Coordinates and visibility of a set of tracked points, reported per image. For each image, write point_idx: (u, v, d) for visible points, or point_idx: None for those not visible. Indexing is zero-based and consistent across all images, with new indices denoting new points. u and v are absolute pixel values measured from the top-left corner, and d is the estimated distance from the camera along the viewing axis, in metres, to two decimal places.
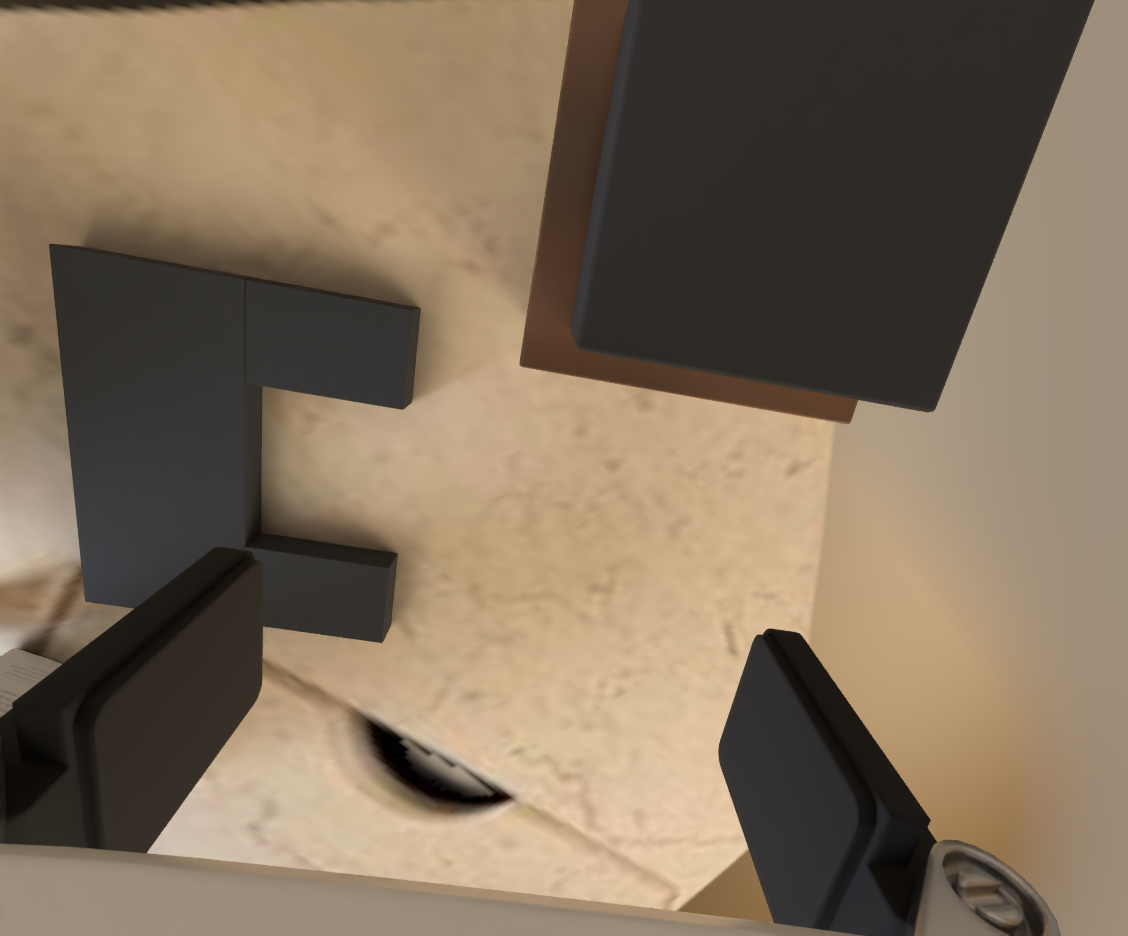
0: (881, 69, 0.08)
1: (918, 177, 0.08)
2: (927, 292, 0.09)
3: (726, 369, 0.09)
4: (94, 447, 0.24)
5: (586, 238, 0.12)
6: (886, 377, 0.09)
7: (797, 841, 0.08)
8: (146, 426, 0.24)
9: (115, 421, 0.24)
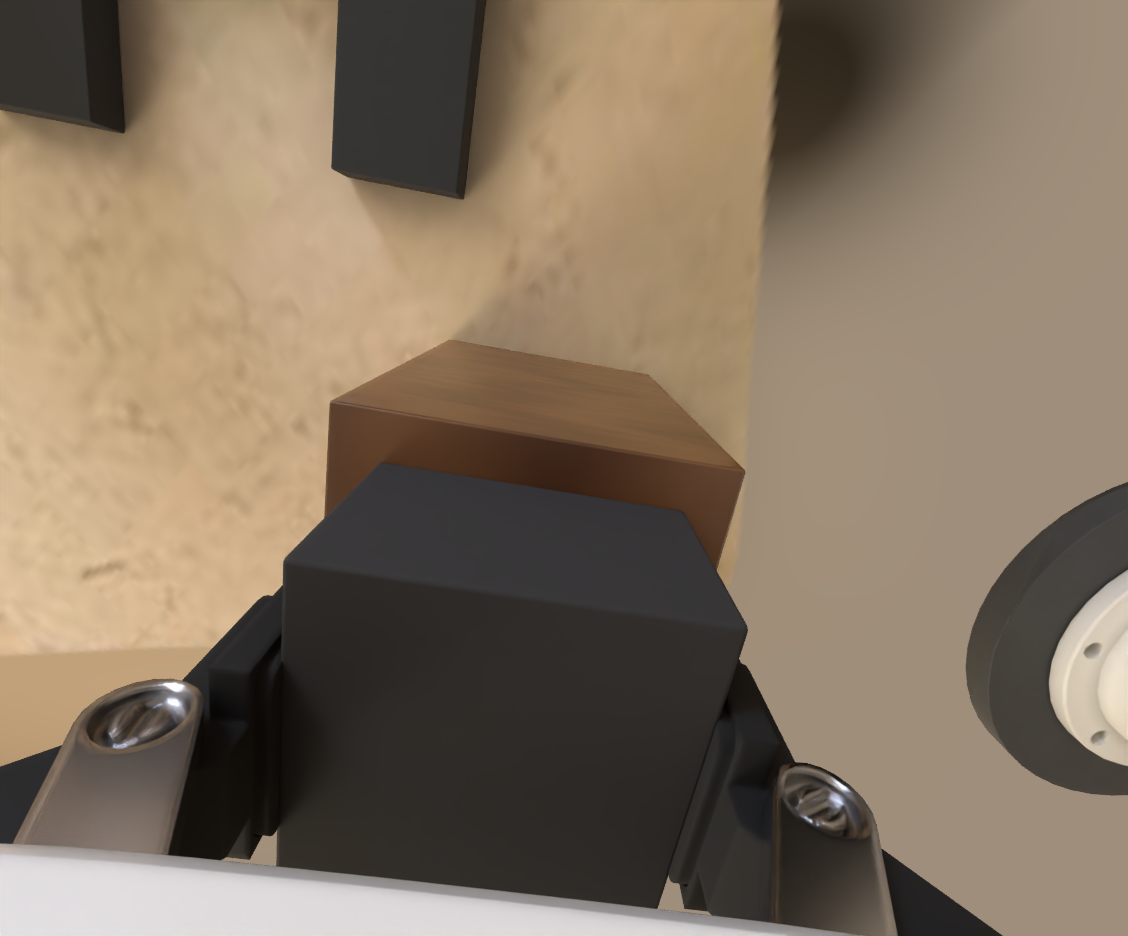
0: (583, 810, 0.08)
1: (495, 851, 0.08)
2: (392, 874, 0.09)
3: (284, 718, 0.08)
4: None
5: (475, 484, 0.10)
6: (303, 856, 0.08)
7: None
8: None
9: None
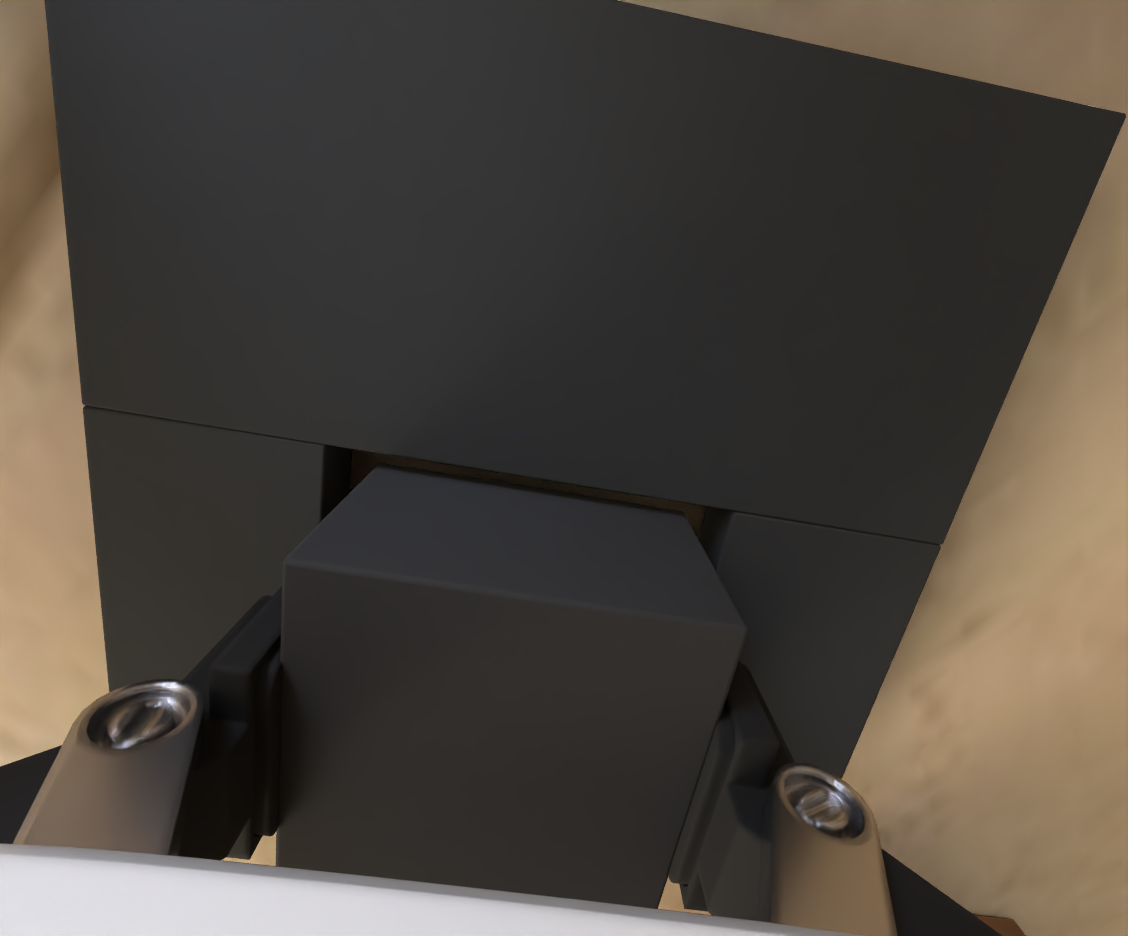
0: (582, 812, 0.08)
1: (494, 851, 0.08)
2: (391, 875, 0.08)
3: (283, 718, 0.08)
4: (595, 83, 0.08)
5: (475, 484, 0.10)
6: (302, 857, 0.08)
7: None
8: (648, 256, 0.09)
9: (667, 172, 0.09)
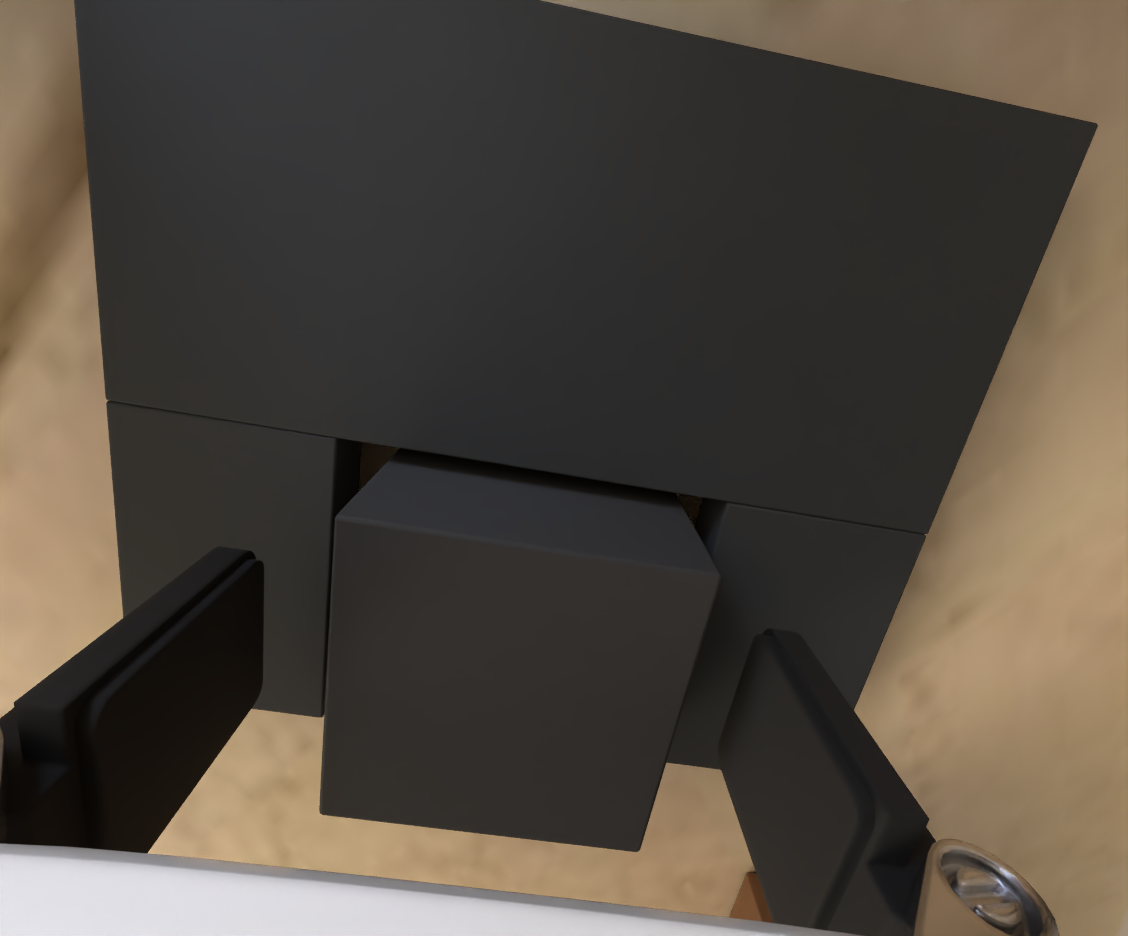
0: (583, 736, 0.10)
1: (508, 771, 0.10)
2: (420, 793, 0.10)
3: (332, 653, 0.09)
4: (594, 94, 0.09)
5: None
6: (344, 776, 0.10)
7: (796, 839, 0.08)
8: (645, 258, 0.10)
9: (663, 178, 0.09)
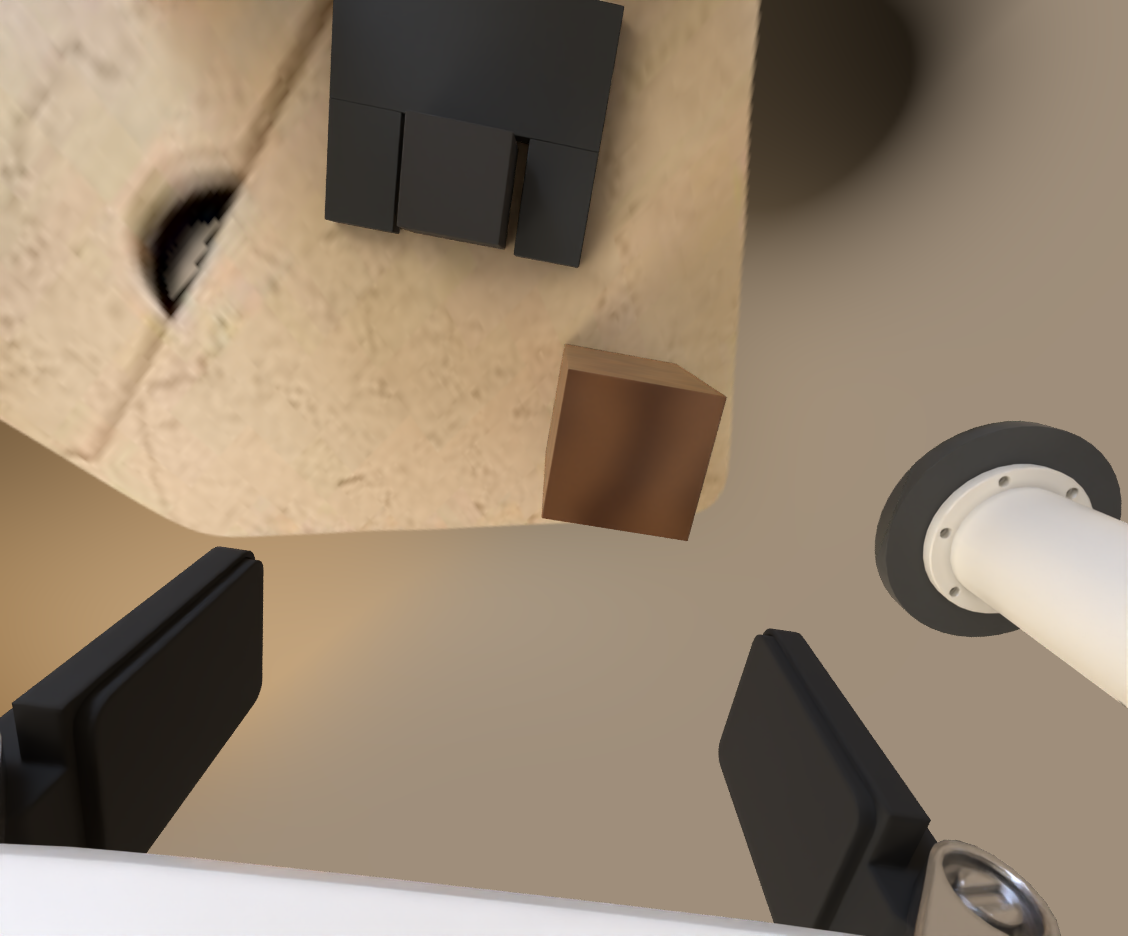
0: (477, 193, 0.32)
1: (455, 208, 0.32)
2: (428, 216, 0.32)
3: (403, 158, 0.31)
4: None
5: None
6: (405, 208, 0.32)
7: (797, 841, 0.08)
8: (496, 48, 0.32)
9: (499, 22, 0.31)
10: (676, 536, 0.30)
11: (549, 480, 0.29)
